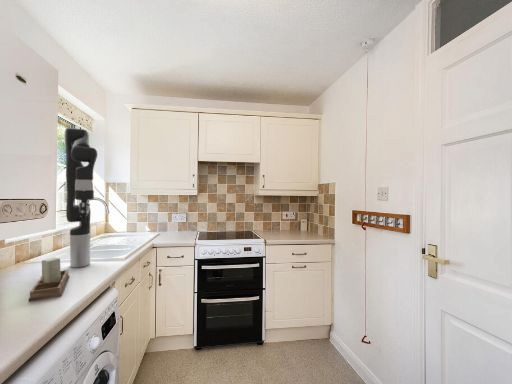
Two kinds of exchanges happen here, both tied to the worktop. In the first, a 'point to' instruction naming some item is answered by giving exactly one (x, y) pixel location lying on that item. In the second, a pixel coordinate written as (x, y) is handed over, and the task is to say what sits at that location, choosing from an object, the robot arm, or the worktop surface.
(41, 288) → the tray
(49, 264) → the box
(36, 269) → the worktop surface
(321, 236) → the worktop surface
